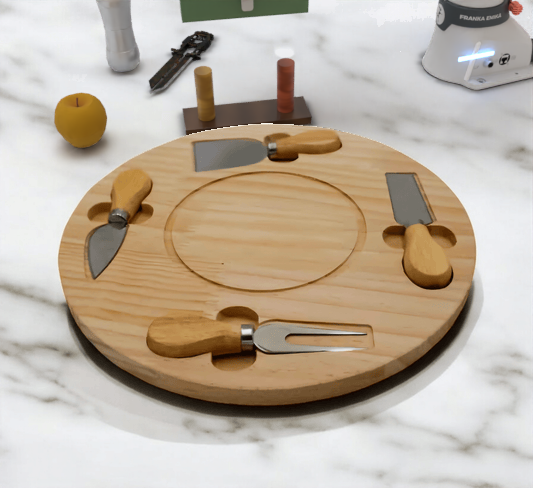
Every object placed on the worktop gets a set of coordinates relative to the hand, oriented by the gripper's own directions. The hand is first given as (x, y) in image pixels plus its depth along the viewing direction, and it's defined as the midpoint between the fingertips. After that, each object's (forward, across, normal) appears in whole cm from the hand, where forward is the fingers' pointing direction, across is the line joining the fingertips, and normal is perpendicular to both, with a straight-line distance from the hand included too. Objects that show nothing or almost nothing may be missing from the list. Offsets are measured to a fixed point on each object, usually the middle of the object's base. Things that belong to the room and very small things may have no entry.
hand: (244, 2), depth 102 cm
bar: (+2, 0, 0) cm, 2 cm away
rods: (+21, -1, 0) cm, 21 cm away
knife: (+21, +21, +10) cm, 31 cm away
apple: (+21, -3, +28) cm, 36 cm away
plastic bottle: (+21, +22, +22) cm, 37 cm away
